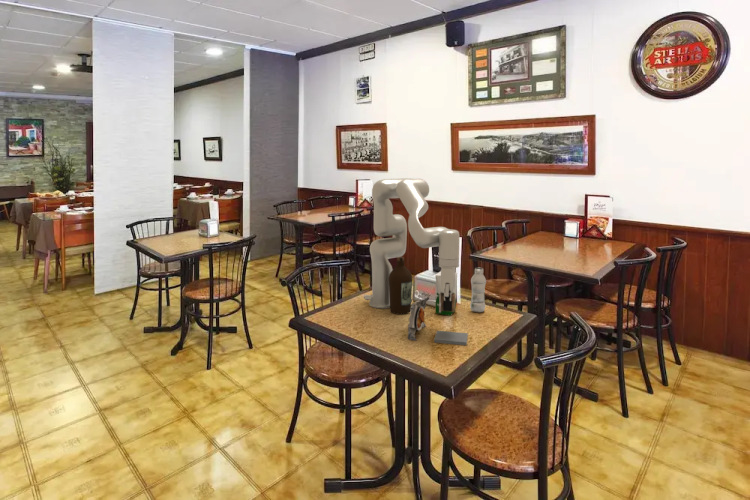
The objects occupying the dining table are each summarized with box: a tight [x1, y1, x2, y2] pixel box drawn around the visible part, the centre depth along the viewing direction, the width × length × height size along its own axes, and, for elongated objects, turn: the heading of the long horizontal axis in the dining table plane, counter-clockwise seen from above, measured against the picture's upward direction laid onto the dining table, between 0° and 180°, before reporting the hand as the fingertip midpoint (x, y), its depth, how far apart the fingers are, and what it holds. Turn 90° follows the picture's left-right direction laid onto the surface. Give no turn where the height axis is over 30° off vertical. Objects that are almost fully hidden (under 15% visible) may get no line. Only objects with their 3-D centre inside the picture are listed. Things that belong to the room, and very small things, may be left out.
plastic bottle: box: [469, 267, 487, 313], centre depth 199 cm, size 6×7×20 cm
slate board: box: [433, 330, 469, 346], centre depth 171 cm, size 12×9×1 cm
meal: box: [407, 296, 430, 341], centre depth 176 cm, size 15×4×13 cm, turn 157°
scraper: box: [439, 293, 456, 313], centre depth 171 cm, size 6×8×7 cm
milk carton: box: [434, 270, 458, 317], centre depth 199 cm, size 9×9×20 cm
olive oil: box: [389, 256, 413, 315], centre depth 200 cm, size 11×11×25 cm
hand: (448, 308), depth 172 cm, fingers closed on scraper, 4 cm apart
